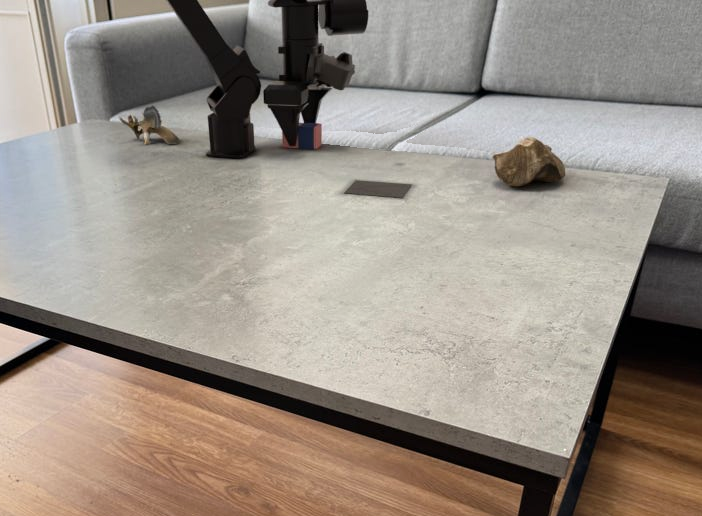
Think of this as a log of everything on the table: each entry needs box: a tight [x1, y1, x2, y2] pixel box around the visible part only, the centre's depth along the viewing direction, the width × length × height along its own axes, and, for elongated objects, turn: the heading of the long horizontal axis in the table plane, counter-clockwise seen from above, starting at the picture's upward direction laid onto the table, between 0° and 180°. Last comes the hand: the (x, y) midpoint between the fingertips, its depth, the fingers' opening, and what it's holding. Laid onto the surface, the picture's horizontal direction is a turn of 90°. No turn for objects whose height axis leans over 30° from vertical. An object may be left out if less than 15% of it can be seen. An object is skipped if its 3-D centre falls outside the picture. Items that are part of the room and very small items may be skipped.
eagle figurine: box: [118, 105, 180, 146], centre depth 123 cm, size 8×7×9 cm
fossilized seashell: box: [492, 136, 566, 187], centre depth 95 cm, size 8×7×10 cm
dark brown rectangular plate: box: [343, 179, 412, 199], centre depth 96 cm, size 8×6×1 cm
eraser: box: [281, 122, 323, 150], centre depth 117 cm, size 6×3×4 cm, turn 69°
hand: (301, 139), depth 117 cm, fingers open, 9 cm apart
